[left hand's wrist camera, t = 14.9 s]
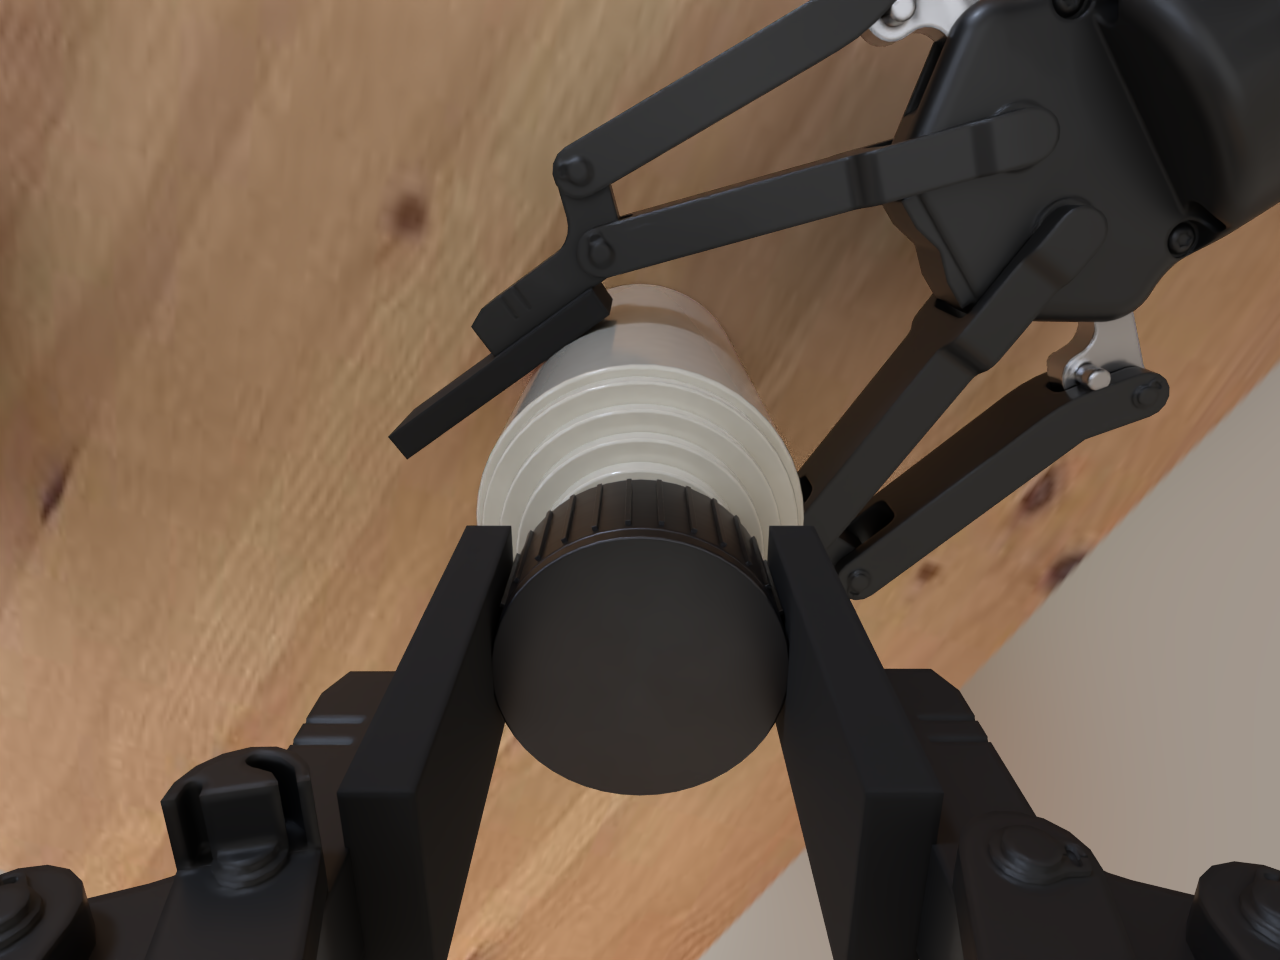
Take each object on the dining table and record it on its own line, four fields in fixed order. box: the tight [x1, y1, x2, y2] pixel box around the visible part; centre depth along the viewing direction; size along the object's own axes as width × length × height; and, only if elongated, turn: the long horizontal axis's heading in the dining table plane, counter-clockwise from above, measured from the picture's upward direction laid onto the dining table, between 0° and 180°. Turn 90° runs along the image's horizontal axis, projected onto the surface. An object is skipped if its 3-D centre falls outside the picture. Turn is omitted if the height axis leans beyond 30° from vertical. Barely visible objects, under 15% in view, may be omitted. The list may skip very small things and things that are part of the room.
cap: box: [491, 479, 789, 795], centre depth 14 cm, size 4×4×2 cm
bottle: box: [476, 284, 804, 562], centre depth 21 cm, size 7×7×18 cm
